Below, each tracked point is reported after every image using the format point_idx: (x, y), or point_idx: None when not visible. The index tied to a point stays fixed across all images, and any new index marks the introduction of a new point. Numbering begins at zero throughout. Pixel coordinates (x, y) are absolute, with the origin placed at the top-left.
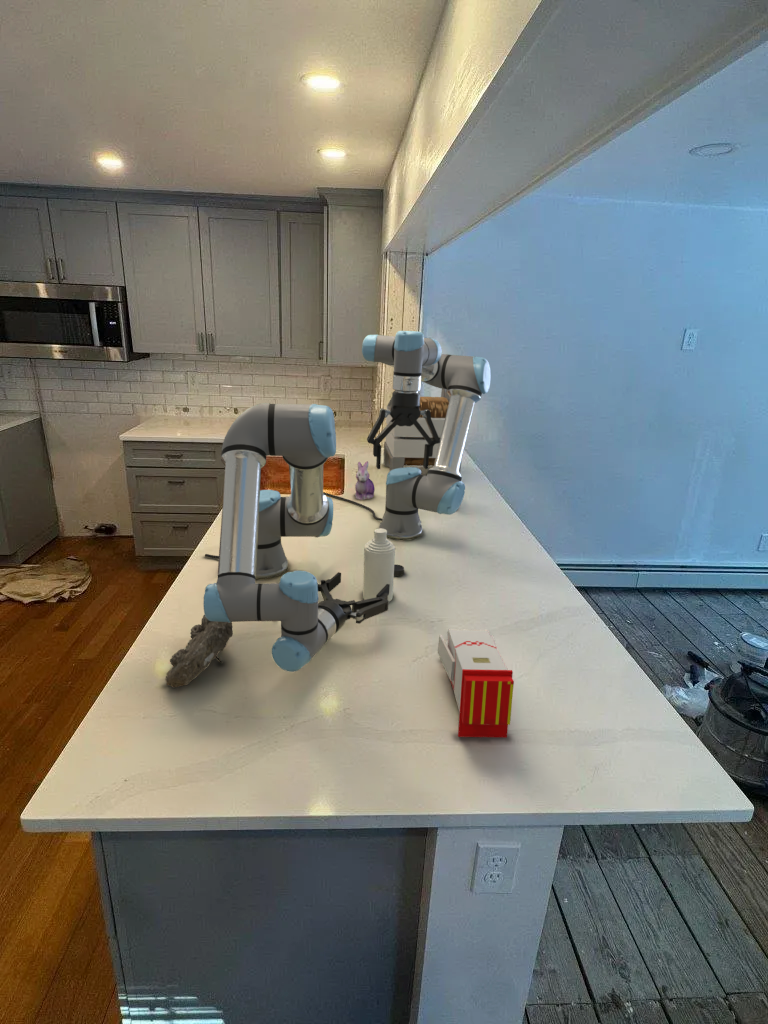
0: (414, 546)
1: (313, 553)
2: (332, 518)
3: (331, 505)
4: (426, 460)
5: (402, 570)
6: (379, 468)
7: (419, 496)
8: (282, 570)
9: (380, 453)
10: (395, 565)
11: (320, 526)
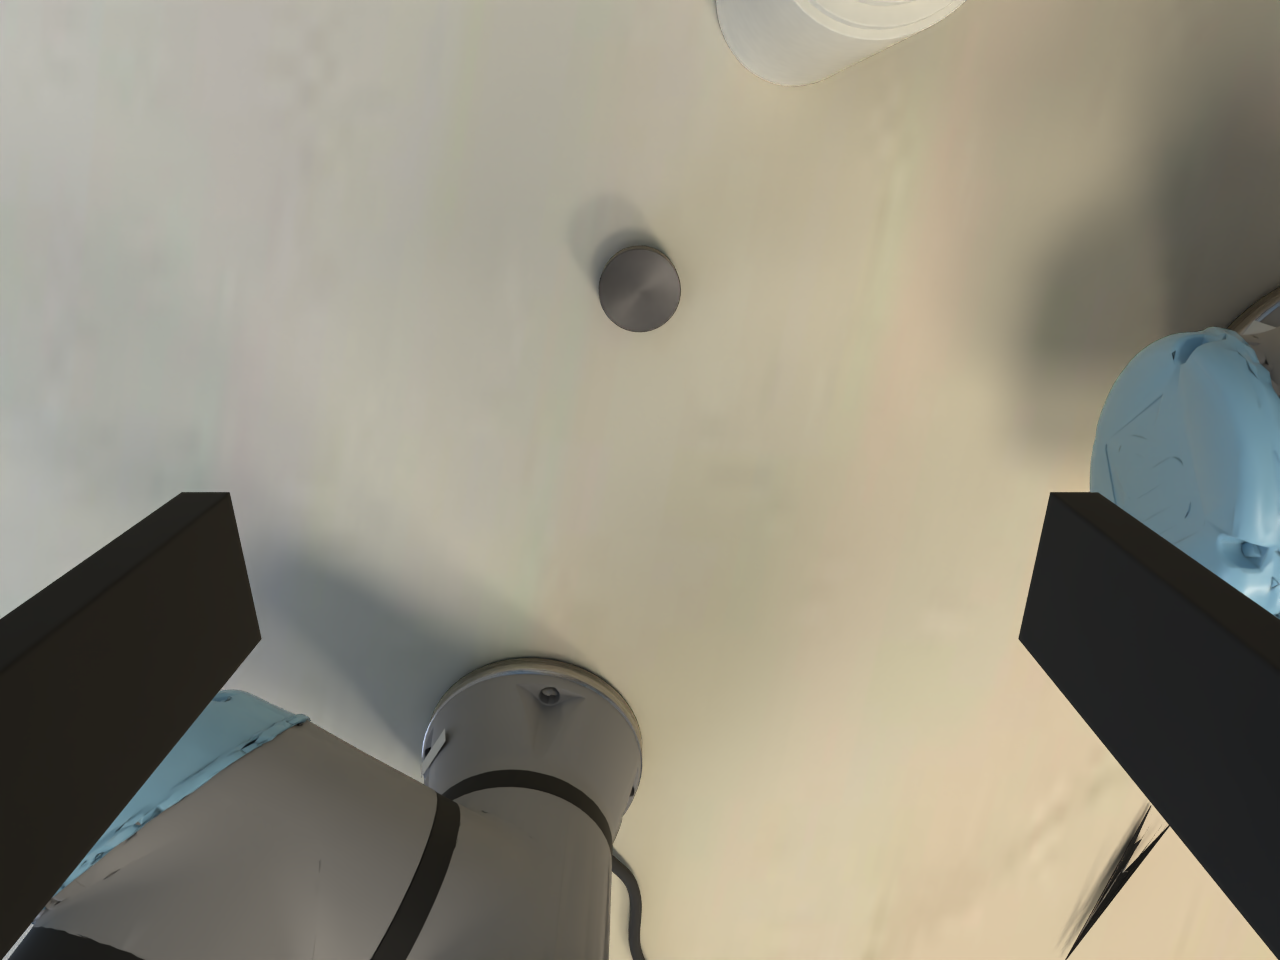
0: (490, 590)
1: (1015, 543)
2: (1206, 356)
3: (1265, 441)
4: (123, 565)
5: (612, 259)
6: (1072, 496)
7: (402, 824)
8: (1246, 323)
9: (1277, 661)
10: (641, 319)
11: (1259, 333)
